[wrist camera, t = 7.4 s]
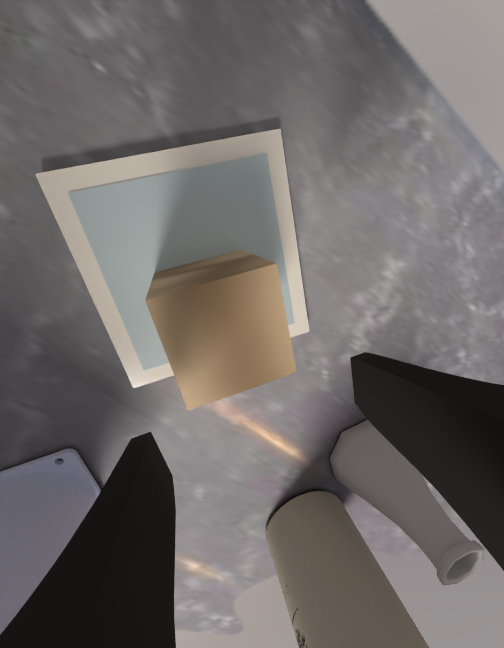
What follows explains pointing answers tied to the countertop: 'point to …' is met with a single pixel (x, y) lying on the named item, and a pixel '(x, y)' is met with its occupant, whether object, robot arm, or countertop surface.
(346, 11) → the countertop surface
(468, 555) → the flask
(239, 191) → the picture frame
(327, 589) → the travel mug
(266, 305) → the oak block
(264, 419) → the countertop surface
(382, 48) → the countertop surface
